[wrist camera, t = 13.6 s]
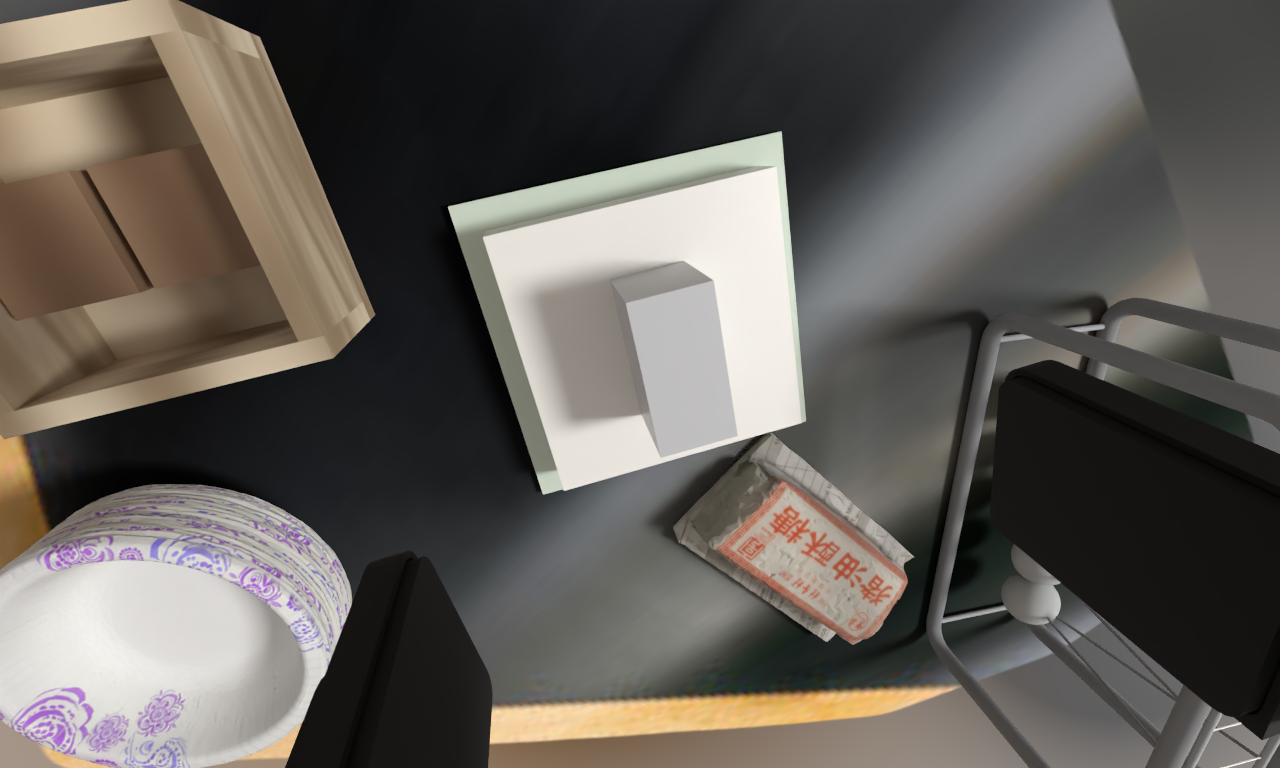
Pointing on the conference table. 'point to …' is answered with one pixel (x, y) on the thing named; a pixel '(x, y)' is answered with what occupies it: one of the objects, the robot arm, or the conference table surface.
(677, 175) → the mat
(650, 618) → the conference table surface
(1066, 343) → the newton's cradle
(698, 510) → the packaged product
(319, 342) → the box
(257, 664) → the paper bowls
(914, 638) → the conference table surface
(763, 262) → the lid
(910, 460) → the conference table surface
